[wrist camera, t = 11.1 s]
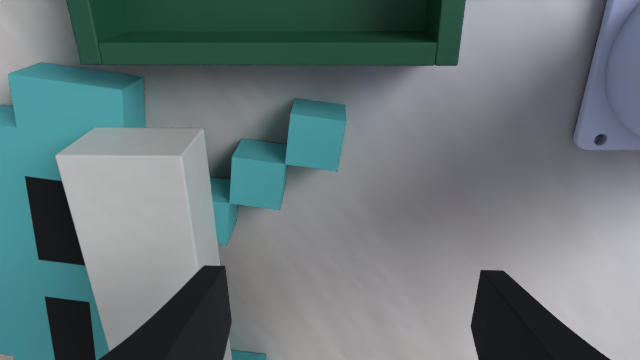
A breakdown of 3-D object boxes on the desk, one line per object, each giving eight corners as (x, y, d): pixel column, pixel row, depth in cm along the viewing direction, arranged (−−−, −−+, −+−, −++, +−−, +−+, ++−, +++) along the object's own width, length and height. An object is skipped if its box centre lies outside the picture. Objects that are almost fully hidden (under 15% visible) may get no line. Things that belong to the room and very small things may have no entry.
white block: (204, 127, 19) (181, 156, 16) (235, 388, 25) (223, 439, 22) (94, 127, 19) (53, 155, 16) (154, 386, 25) (132, 437, 23)
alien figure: (345, 105, 20) (-115, 40, 20) (345, 121, 18) (-167, 49, 18) (295, 410, 29) (-25, 370, 28) (292, 443, 27) (-53, 401, 26)
